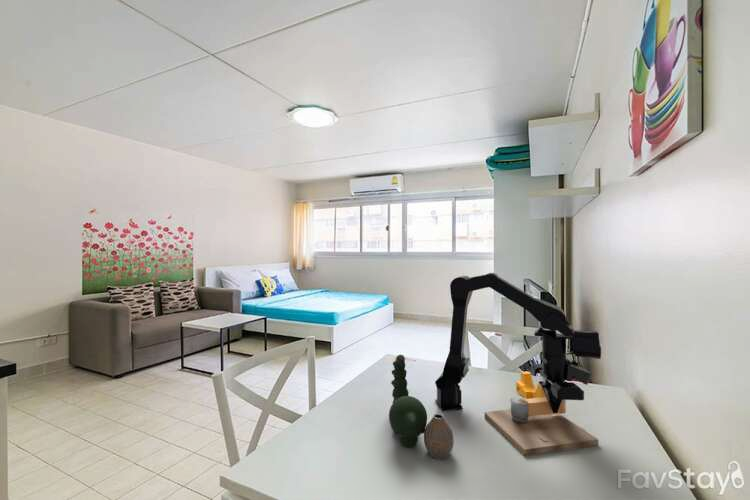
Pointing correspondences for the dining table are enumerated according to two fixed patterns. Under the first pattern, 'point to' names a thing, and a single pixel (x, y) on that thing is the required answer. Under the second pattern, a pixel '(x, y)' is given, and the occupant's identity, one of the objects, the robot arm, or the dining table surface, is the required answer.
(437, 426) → the vase
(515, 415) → the latch lever
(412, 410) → the toy figurine
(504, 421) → the mount plate
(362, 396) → the dining table surface
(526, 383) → the pipe clamp
